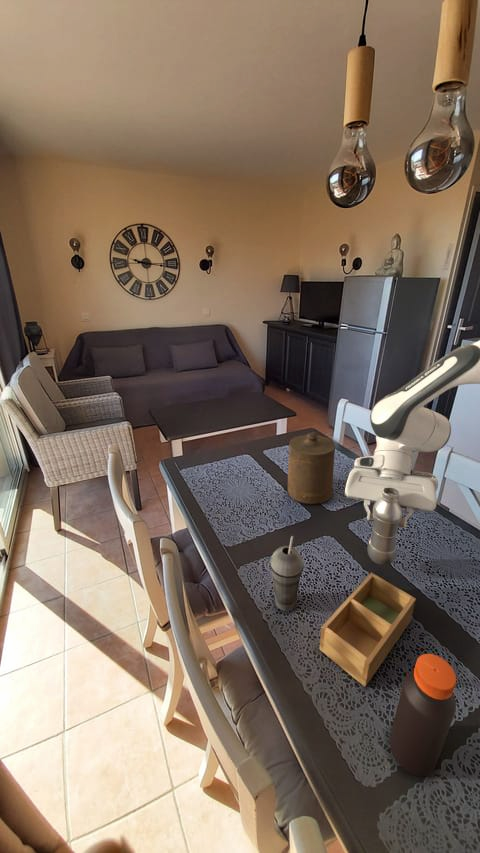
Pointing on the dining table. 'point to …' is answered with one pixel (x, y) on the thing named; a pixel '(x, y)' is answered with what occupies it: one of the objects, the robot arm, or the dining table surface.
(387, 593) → the divided wooden box
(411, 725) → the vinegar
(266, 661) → the dining table surface
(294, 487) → the wooden container
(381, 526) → the silver metal bottle
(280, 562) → the beverage cup
